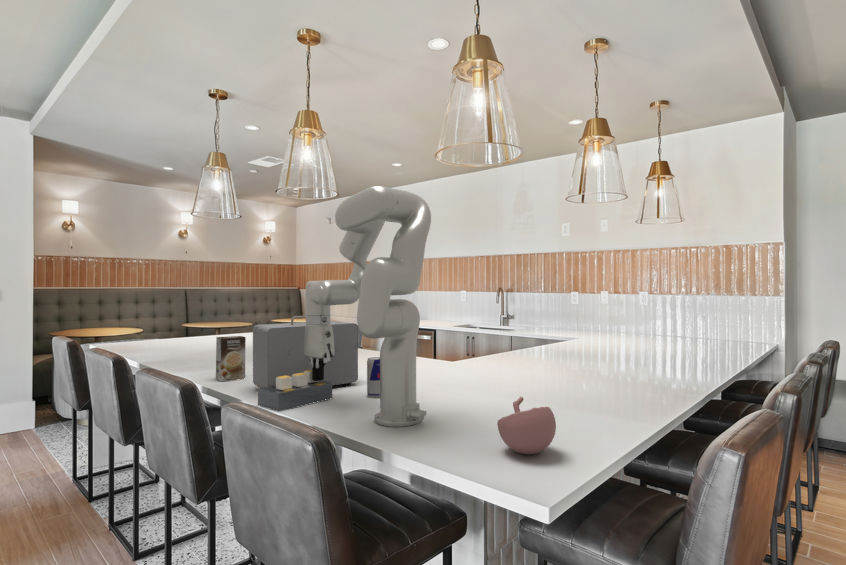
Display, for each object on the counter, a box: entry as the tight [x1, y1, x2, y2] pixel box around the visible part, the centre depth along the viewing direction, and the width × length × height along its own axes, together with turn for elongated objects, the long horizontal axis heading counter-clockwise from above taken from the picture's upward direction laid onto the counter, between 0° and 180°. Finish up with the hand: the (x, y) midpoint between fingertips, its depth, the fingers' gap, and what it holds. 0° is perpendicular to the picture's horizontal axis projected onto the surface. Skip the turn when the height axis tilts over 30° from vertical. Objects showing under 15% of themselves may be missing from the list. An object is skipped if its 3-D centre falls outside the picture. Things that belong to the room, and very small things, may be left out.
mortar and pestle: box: [496, 396, 557, 455], centre depth 98 cm, size 12×12×12 cm
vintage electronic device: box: [252, 315, 359, 388], centre depth 163 cm, size 32×18×25 cm, turn 126°
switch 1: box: [276, 375, 292, 390], centre depth 137 cm, size 3×3×3 cm
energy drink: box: [366, 356, 380, 399], centre depth 149 cm, size 5×5×12 cm
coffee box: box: [215, 335, 246, 383], centre depth 177 cm, size 9×6×16 cm
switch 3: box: [304, 370, 317, 383], centre depth 146 cm, size 3×3×3 cm
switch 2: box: [292, 373, 308, 387], centre depth 141 cm, size 3×3×3 cm
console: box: [257, 380, 333, 412], centre depth 142 cm, size 11×19×5 cm, turn 140°
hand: (318, 380), depth 144 cm, fingers closed
